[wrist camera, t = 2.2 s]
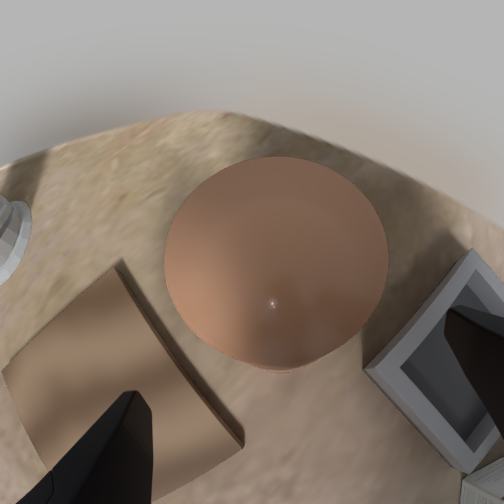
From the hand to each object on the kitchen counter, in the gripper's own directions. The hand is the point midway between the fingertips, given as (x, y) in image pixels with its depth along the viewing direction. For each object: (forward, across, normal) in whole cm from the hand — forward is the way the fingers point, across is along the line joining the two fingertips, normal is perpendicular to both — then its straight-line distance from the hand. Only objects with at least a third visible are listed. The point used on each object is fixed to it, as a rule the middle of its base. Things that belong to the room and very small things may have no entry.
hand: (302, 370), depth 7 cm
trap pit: (+5, -11, +9) cm, 15 cm away
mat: (+6, +13, +7) cm, 16 cm away
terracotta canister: (+9, 0, +5) cm, 10 cm away
